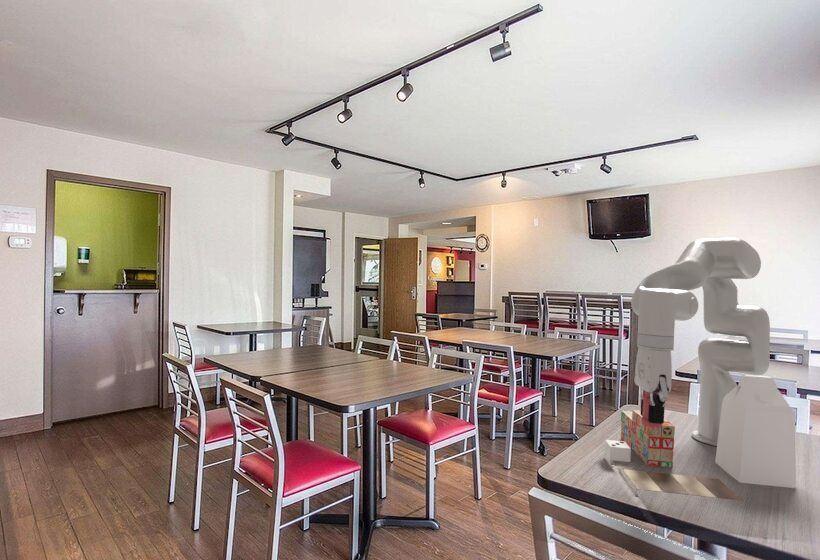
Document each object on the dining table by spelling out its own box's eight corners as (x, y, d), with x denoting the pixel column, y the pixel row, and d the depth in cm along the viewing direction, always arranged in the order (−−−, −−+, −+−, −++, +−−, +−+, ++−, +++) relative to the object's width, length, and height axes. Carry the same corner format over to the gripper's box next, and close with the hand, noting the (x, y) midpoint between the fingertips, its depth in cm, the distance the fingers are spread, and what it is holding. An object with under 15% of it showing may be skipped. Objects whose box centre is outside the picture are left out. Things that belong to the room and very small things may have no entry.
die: (624, 459, 120) (624, 441, 120) (630, 467, 115) (630, 448, 115) (604, 457, 121) (605, 439, 121) (609, 465, 116) (610, 446, 116)
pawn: (657, 422, 106) (659, 383, 106) (665, 428, 102) (667, 387, 102) (638, 420, 107) (640, 381, 107) (645, 426, 102) (647, 386, 102)
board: (719, 483, 108) (719, 477, 108) (748, 508, 96) (749, 502, 96) (619, 473, 111) (619, 467, 111) (635, 496, 99) (635, 490, 99)
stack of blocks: (619, 440, 134) (621, 400, 134) (641, 442, 133) (643, 401, 133) (646, 471, 113) (648, 423, 113) (673, 473, 112) (675, 425, 112)
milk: (765, 472, 115) (770, 372, 114) (796, 494, 103) (801, 383, 103) (714, 467, 117) (718, 369, 116) (739, 488, 105) (744, 379, 105)
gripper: (626, 336, 113) (623, 407, 113) (652, 346, 96) (648, 430, 96) (657, 338, 112) (654, 410, 112) (689, 348, 95) (685, 433, 95)
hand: (651, 418), depth 104 cm, fingers closed on pawn, 4 cm apart
